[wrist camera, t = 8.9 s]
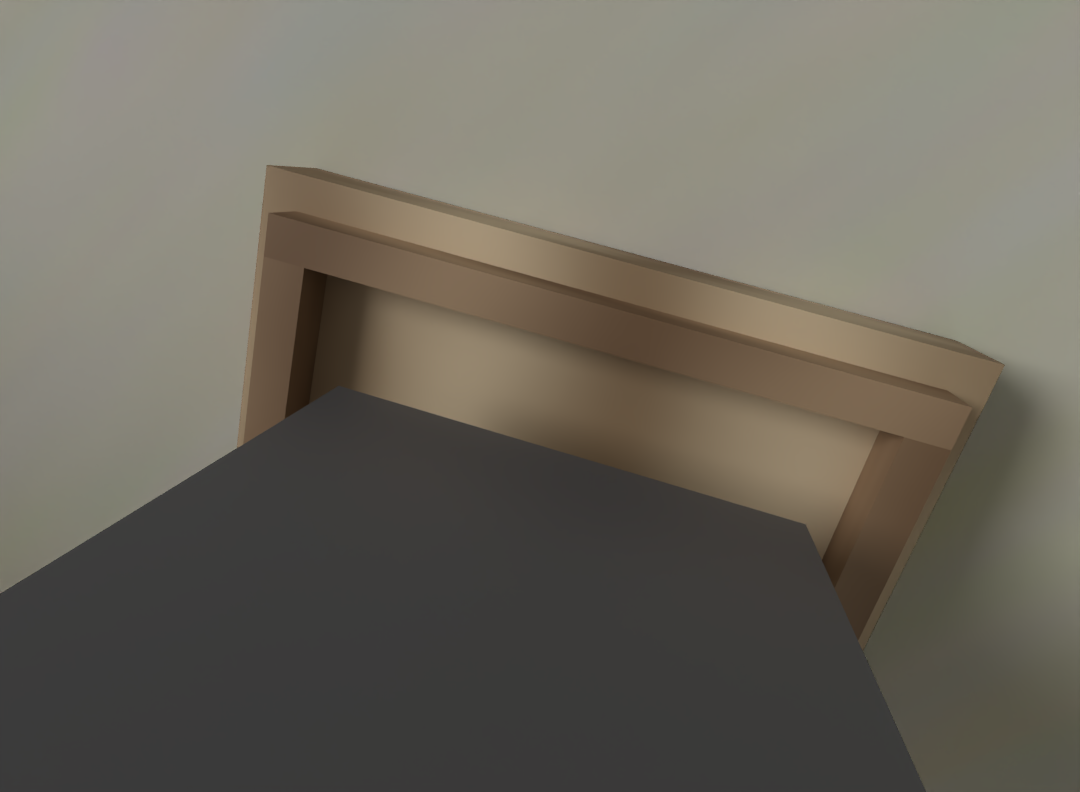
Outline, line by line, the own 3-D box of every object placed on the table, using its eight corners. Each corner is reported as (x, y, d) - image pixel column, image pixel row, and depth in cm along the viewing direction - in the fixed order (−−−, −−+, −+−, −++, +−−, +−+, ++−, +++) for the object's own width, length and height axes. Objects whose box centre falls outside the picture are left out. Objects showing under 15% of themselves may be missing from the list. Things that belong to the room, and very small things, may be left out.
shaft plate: (251, 668, 19) (-135, 1128, 10) (316, 168, 15) (-282, 130, 5) (729, 827, 18) (811, 1516, 9) (956, 340, 14) (1628, 675, 4)
